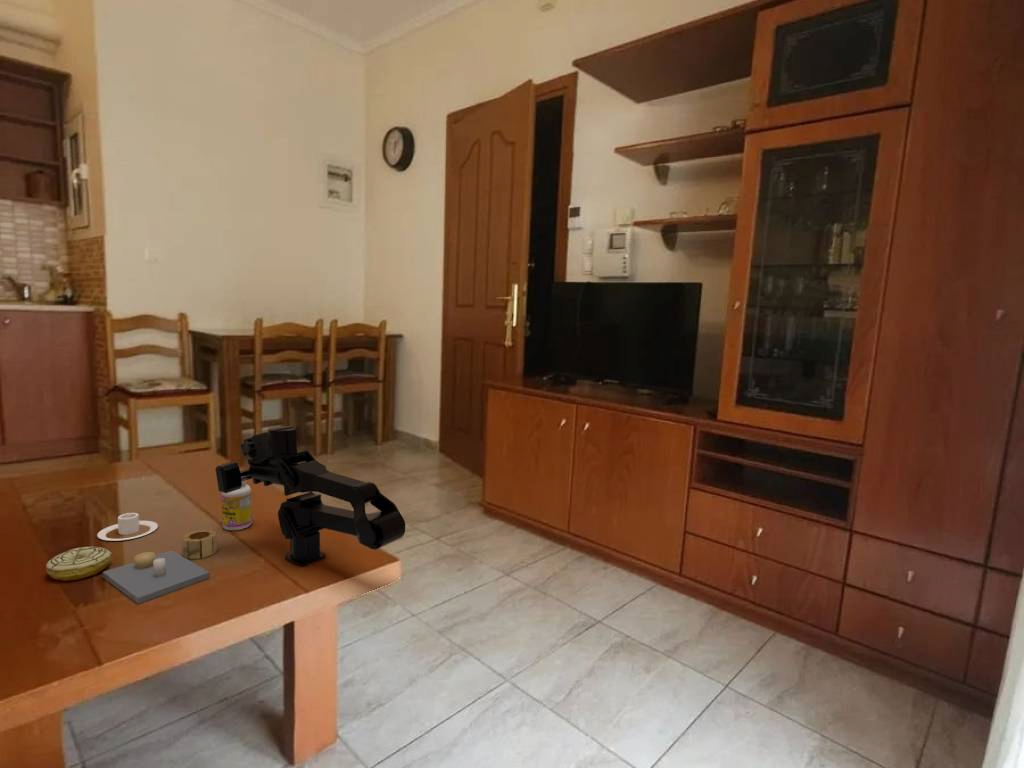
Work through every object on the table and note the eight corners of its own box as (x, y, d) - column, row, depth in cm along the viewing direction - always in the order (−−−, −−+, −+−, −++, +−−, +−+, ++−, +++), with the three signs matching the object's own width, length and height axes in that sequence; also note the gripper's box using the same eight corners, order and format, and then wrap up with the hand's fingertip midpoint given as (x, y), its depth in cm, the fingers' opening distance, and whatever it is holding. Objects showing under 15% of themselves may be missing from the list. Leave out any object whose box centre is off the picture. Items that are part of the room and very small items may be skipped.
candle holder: (127, 546, 126) (126, 528, 126) (84, 539, 128) (83, 522, 128) (169, 526, 138) (169, 510, 137) (129, 521, 140) (128, 504, 140)
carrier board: (209, 577, 113) (208, 558, 112) (138, 604, 102) (137, 582, 102) (172, 555, 122) (171, 537, 121) (103, 577, 111) (101, 557, 111)
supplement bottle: (216, 527, 137) (214, 477, 136) (240, 519, 143) (239, 471, 142) (234, 533, 134) (232, 482, 133) (257, 524, 140) (256, 475, 139)
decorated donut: (116, 556, 121) (115, 539, 120) (106, 578, 112) (105, 560, 111) (55, 564, 116) (54, 547, 116) (40, 587, 107) (39, 569, 106)
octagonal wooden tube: (221, 551, 125) (221, 534, 124) (192, 561, 119) (191, 544, 119) (207, 543, 128) (206, 527, 128) (178, 553, 123) (177, 536, 122)
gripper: (306, 427, 133) (267, 424, 141) (232, 447, 117) (193, 442, 125) (312, 472, 134) (273, 466, 143) (240, 497, 119) (201, 489, 127)
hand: (237, 464), depth 134 cm, fingers open, 9 cm apart
